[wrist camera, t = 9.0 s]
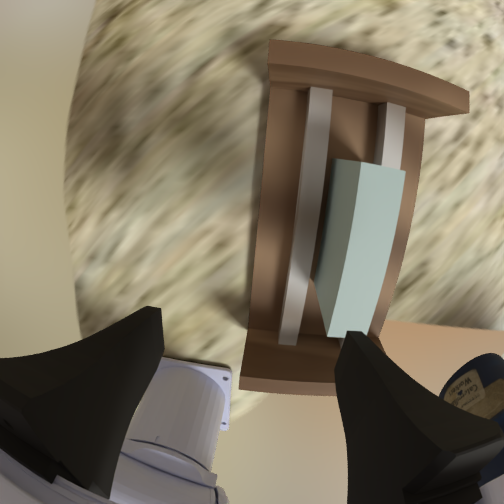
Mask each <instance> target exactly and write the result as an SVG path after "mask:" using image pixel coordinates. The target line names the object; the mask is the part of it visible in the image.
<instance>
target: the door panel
mask: <svg viewBox="0 0 504 504" xmlns="http://www.w3.org/2000/svg"><path fill="white" fill-rule="evenodd" d="M405 173H406V171H403V170H398V169H394V168H389V167H385V166H380V165H375V164H370V163H365V162H359V161H351V160H343V159H335V158H332V166H331V174H330V182H329V190H328V198H327V205H326V212H325V219H324V225H323V232H322V238H321V244H320V250H319V256H318V262H317V268H316V273H315V278H314V285H315V289H316V293H317V297H318V301H319V305H320V309H321V313H322V317H323V322H324V326H325V330H326V334H327V337H341V338H345V336H346V332H347V330H348V331H362V332H363V333H364V334H365V335H366V336H367V333H368V330H369V327H370V324H371V321H372V318H373V314H374V311H375V308H376V305H377V302H378V298H379V295H380V291H381V288H382V284H383V281H384V277H385V273H386V269H387V265H388V261H389V257H390V253H391V249H392V244H393V240H394V235H395V231H396V226H397V221H398V216H399V210H400V205H401V199H402V193H403V186H404V180H405Z"/></svg>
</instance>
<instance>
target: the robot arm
mask: <svg viewBox="0 0 504 504" xmlns="http://www.w3.org/2000/svg"><path fill="white" fill-rule="evenodd" d="M164 349H165V348H164V337H163V326H162V313H161V308H157V307H151V306H146V307H143V308H141V309H140V310H138V311H136V312H134V313H132V314H131V315H129V316H127V317H125V318H124V319H122V320H120V321H118V322H117V323H115V324H113V325H111V326H109V327H107V328H105V329H103V330H101V331H99V332H97V333H95V334H93V335H91V336H89V337H87V338H85V339H83V340H80V341H78V342H75V343H73V344H70V345H67V346H64V347H61V348H58V349H54V350H50V351H47V352H43V353H39V354H34V355H28V356H22V357H13V358H0V504H229V500H228V497H227V496H226V494H225V491H224V490H223V488H222V487H219V486H216V485H215V484H216V480H217V474H214V473H211V468H212V464H213V459H214V454H215V450H216V444H217V440H218V435H219V431H220V430H223V431H226V430H228V429H229V417H230V400H231V383H232V371H231V370H230V369H228V368H223V367H216V366H210V365H204V364H198V363H192V362H186V361H181V360H176V359H171V358H166V357H162V355H163V352H164ZM334 375H335V387H336V394H337V399H338V404H339V408H340V413H341V417H342V422H343V427H344V432H345V437H346V444H347V460H348V496H347V504H504V474H503V475H501V476H500V477H498V478H496V479H494V480H492V481H490V482H488V483H486V484H485V485H483V486H482V487H480V488H479V486H478V483H477V482H479V481H480V480H481V478H482V477H481V474H480V471H481V470H482V469H483V468H484V467H485V466H486V465H487V464H488V463H489V462H490V461H491V460H492V459H493V458H494V457H495V456H496V455H497V454H498V453H499V452H500V451H501V450H502V448H503V447H504V433H503V431H502V429H501V428H500V426H499V424H498V422H496V421H493V420H489V419H486V418H483V417H480V416H477V415H474V414H472V413H469V412H467V411H465V410H462V409H460V408H458V407H456V406H454V405H452V404H450V403H448V402H447V401H445V400H443V399H441V398H440V397H438V396H436V395H435V394H433V393H432V392H430V391H429V390H427V389H426V388H425V387H423V386H422V385H420V384H419V383H418V382H416V381H415V380H414V379H412V378H411V377H410V376H409V375H408V374H407V373H405V372H404V371H403V370H402V369H401V368H400V367H399V366H397V365H396V364H395V363H394V362H393V361H392V360H391V359H390V358H389V357H388V356H387V355H386V354H385V353H384V352H383V351H382V350H381V349H380V348H379V347H378V346H377V345H376V344H375V343H374V342H373V341H372V340H371V339H370V338H369V337H368V336H366V335H365V334H364V333H363V332H362V331H348V330H347V332H346V336H345V339H344V342H343V345H342V348H341V351H340V354H339V357H338V360H337V363H336V365H335V368H334ZM225 377H228V378H225ZM145 391H146V392H145ZM144 393H145V394H144ZM143 395H144V396H143ZM142 397H143V398H142ZM141 399H142V400H141ZM140 401H141V402H140ZM139 403H140V404H139ZM138 405H139V406H138ZM137 406H138V408H137ZM136 408H137V410H136ZM135 410H136V412H135ZM134 413H135V414H134ZM133 415H134V416H133ZM132 417H133V418H132ZM131 419H132V420H131Z"/></svg>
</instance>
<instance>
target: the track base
mask: <svg viewBox="0 0 504 504" xmlns="http://www.w3.org/2000/svg"><path fill="white" fill-rule="evenodd" d="M268 72H269V81H270V96H269V107H268V118H267V129H266V140H265V151H264V162H263V173H262V184H261V195H260V206H259V217H258V227H257V238H256V249H255V259H254V270H253V281H252V291H251V302H250V312H249V323H248V331H247V337H246V343H245V349H244V355H243V360H242V366H241V372H240V380H239V389H240V390H248V391H257V392H267V393H279V394H293V395H314V396H315V395H316V396H337V394H336V387H335V375H334V368H335V365H336V363H337V360H338V357H339V354H340V351H341V348H342V345H343V342H344V339H345V338H341V337H327V334H326V330H325V326H324V322H323V317H322V313H321V309H320V305H319V301H318V297H317V293H316V289H315V285H314V278H315V273H316V268H317V262H318V256H319V250H320V244H321V238H322V232H323V225H324V219H325V212H326V205H327V198H328V190H329V182H330V174H331V166H332V158H335V159H343V160H351V161H359V162H365V163H370V164H375V165H380V166H385V167H389V168H394V169H398V170H403V171H406V173H405V180H404V186H403V193H402V199H401V205H400V210H399V216H398V221H397V226H396V231H395V235H394V240H393V244H392V249H391V253H390V257H389V261H388V265H387V269H386V273H385V277H384V281H383V284H382V288H381V291H380V295H379V298H378V302H377V305H376V308H375V311H374V314H373V318H372V321H371V324H370V327H369V330H368V333H367V336H368V337H369V338H370V339H371V340H372V341H373V342H374V343H375V344H376V345H377V346H378V347H379V348H380V349H381V350H382V351H383V352H384V353H385V351H384V349H383V347H382V344H381V342H380V340H379V338H378V337H379V335H380V332H381V329H382V326H383V324H384V321H385V318H386V315H387V312H388V309H389V306H390V303H391V299H392V296H393V293H394V290H395V286H396V283H397V279H398V276H399V272H400V269H401V265H402V261H403V257H404V253H405V249H406V245H407V241H408V236H409V232H410V227H411V222H412V217H413V212H414V207H415V201H416V195H417V189H418V183H419V176H420V168H421V160H422V151H423V141H424V129H425V119H428V118H435V117H442V116H450V115H458V114H466V113H469V91H467V90H465V89H463V88H460V87H458V86H456V85H454V84H452V83H449V82H447V81H445V80H442V79H440V78H437V77H435V76H432V75H430V74H427V73H424V72H422V71H419V70H416V69H413V68H410V67H407V66H404V65H401V64H398V63H395V62H392V61H388V60H385V59H381V58H377V57H374V56H370V55H366V54H362V53H358V52H353V51H348V50H344V49H339V48H333V47H328V46H322V45H316V44H309V43H301V42H293V41H283V40H270V42H269V53H268ZM385 354H386V353H385Z"/></svg>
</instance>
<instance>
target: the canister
mask: <svg viewBox="0 0 504 504" xmlns="http://www.w3.org/2000/svg"><path fill="white" fill-rule="evenodd" d="M439 397H440V398H441V399H443V400H445V401H447V402H448V403H450V404H452V405H454V406H456V407H458V408H460V409H462V410H465V411H467V412H469V413H472V414H474V415H477V416H480V417H483V418H486V419H489V420H493V421H496V422H498V424H499V426H500V428H501V429H502V431H503V433H504V360H503V358H502V357H501V356H499V355H497V354H494V353H488V354H483V355H480V356H478V357H476V358H474V359H472V360H470V361H469V362H467V363H466V364H465V365H463V366H462V367H461V368H460V369H459V370H458V371H457V372H455V373H454V374H453V375H452V377H451V378H450V379H449V380H448V381H447V383H446V384H445V385H444V387H443V389H442V391H441V392H440V395H439ZM480 474H481V477H482V478H481V480H480V481H479V482H477V483H478V486H479V488H480V487H482V486H483V485H485V484H486V483H488V482H490V481H492V480H494V479H496V478H498V477H500V476H501V475H503V474H504V447H503V448H502V450H501V451H500V452H499V453H498V454H497V455H496V456H495V457H494V458H493V459H492V460H491V461H490V462H489V463H488V464H487V465H486V466H485V467H484V468H483V469H482V470H481V471H480Z"/></svg>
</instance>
